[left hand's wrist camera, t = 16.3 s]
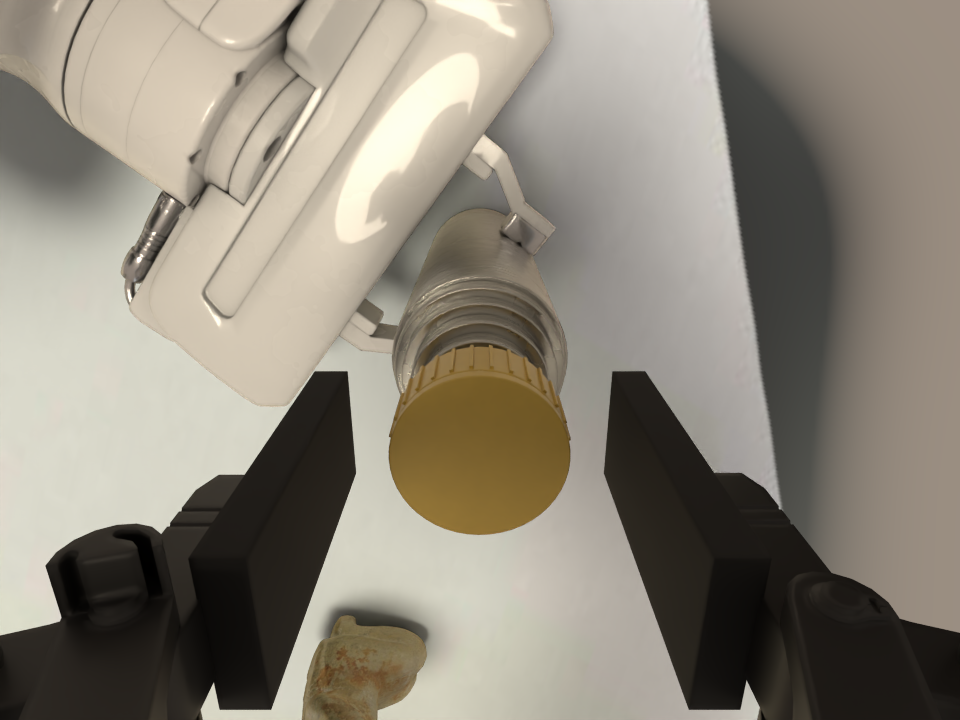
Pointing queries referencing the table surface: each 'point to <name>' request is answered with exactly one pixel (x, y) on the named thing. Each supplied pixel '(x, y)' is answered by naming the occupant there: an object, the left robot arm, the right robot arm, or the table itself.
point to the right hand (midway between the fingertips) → (496, 300)
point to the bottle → (478, 301)
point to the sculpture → (361, 671)
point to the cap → (479, 441)
